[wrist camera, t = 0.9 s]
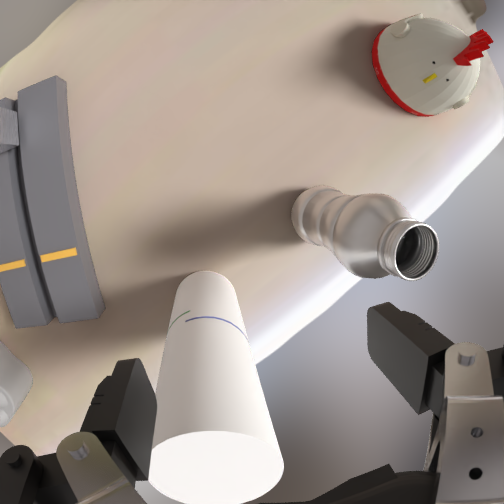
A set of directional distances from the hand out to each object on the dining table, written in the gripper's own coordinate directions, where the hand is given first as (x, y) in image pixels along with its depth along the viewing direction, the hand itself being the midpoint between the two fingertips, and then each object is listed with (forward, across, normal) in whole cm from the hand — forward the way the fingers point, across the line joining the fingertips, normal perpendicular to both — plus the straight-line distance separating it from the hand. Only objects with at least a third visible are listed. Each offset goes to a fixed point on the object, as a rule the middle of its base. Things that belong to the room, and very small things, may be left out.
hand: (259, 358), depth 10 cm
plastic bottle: (+26, -11, 0) cm, 29 cm away
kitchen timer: (+27, -29, -17) cm, 43 cm away
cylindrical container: (+26, +4, +8) cm, 28 cm away
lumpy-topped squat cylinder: (+26, +40, +15) cm, 50 cm away
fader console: (+26, +22, -8) cm, 35 cm away
